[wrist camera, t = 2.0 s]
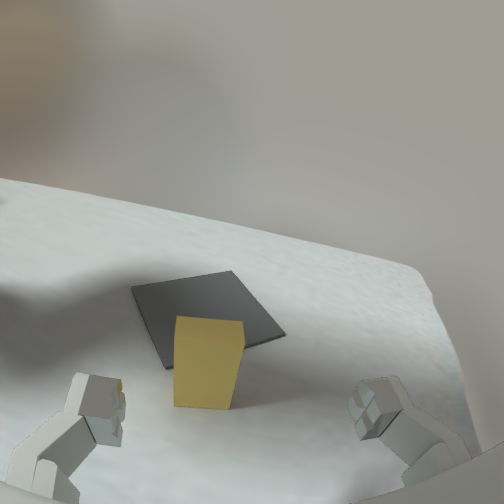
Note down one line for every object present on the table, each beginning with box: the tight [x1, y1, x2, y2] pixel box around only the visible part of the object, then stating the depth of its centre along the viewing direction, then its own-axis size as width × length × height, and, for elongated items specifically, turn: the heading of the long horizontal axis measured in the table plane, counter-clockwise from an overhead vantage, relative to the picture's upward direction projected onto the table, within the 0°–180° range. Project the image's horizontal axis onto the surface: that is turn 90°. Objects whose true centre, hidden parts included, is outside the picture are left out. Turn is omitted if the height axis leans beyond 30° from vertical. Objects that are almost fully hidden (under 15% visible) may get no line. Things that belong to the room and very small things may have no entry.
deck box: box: [174, 316, 245, 409], centre depth 26 cm, size 2×5×10 cm, turn 96°
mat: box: [132, 271, 285, 369], centre depth 39 cm, size 15×14×1 cm
